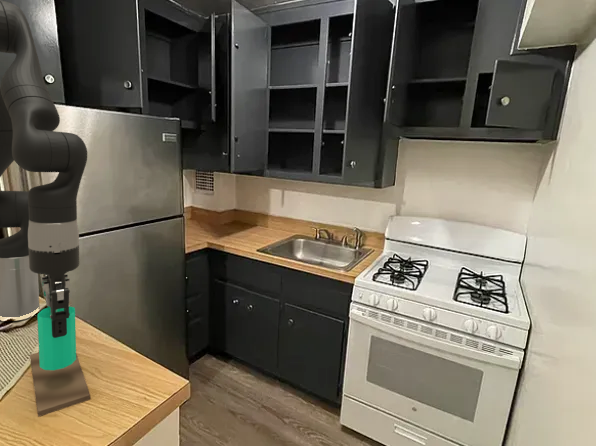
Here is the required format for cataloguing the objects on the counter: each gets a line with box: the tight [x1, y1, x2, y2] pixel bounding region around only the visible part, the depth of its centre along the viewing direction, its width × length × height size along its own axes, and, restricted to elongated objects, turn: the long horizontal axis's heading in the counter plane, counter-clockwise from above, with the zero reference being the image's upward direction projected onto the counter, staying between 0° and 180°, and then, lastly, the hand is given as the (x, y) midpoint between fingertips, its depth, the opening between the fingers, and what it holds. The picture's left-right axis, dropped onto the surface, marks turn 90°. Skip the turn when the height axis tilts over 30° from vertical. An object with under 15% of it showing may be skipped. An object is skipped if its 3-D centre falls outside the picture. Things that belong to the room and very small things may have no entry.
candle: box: [36, 305, 77, 370], centre depth 66 cm, size 6×6×12 cm
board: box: [29, 351, 91, 417], centre depth 70 cm, size 20×8×1 cm, turn 40°
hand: (57, 327), depth 66 cm, fingers closed on candle, 6 cm apart
